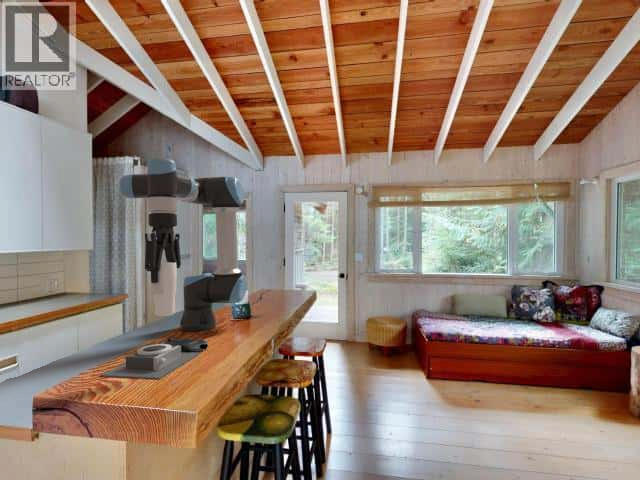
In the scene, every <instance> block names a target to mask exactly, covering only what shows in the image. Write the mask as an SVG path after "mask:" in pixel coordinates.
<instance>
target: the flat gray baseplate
mask: <svg viewBox="0 0 640 480" xmlns="http://www.w3.org/2000/svg"><path fill="white" fill-rule="evenodd" d="M199 354H200V355H201V354H202V352H181V346H171V345H169V344H161V343H157V344H156V343H155V344H149V345H144V346H143V347H142V346H141V347H139V348H138V349H137V350H136V352H133V353H131V354H129V355H126V356H125V363H122V364H120V365H118V366H115V367H114V368H112V369H109V370H107V371H105V372H103V373H101V374H100V375H99V376H100V377H108V378H124V377H132V378H131V379H144V378H148V379H147V380H161V379H162V378H164V377H165V376H167V375H169V374H170V373H172V372H174V371H175V370H177V369H179V368H180V367H182V366H183V365H185V364H187V363H188V362H190V361H192V360H193V359H195V358H196V357H198V356H199ZM194 357H195V358H194ZM191 359H192V360H191ZM189 360H190V361H189ZM186 362H187V363H186Z"/></svg>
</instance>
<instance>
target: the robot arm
mask: <svg viewBox="0 0 640 480" xmlns="http://www.w3.org/2000/svg"><path fill="white" fill-rule="evenodd" d="M176 165H177V163H176V162H175V160H173V159H170V158H164V157H163V158H162V157H157V158H156V157H155V158H151V159H148V161H147V172H146V173H140V174H139V173H138V174H137V173H136V174H135V173H132V174H125V175H123V176H122V177H121V178H120V180H119V190H120V192H121V195H123V196H124V197H125V198H127V199H148V200H147V201H148V202H147V204H148V205H147V206H148V212H150V213H149V214H148V226H149V227H151V228H152V230H151V232H150V233H149V232H148V233H145V234H144V239H145V258H144V269H145V270H146V272H149V273H150V284H151V286H150V287H151V296H152V295H153V296H154V295H162V271H159V270H160V264H161V263H162V259H163V252H164V255H165V259H166V262H176V265H177V269H180V268H181V265H182V261H181V248H180V237H181V236H180V235H181V234H180V233H175V231H174V227H177V226H178V215H177V211H178V209H177V208H178V205H177V204H178V203H177V201H181V202H184V203H188V204H196V205H204V206H211V210H212V211H213V212H214V213H215V227H216V228H215V229H216V230H215V231H216V232H215V233H216V234H215V235H216V236H215V237H216V262H217V268H216V270H215V271H214V272H213V273H211V272H207V273H205V272H204V273H199V274H192V275H187V276H185V277H184V279H183V286H182V288H183V313H182V316H181V318H180V322H179V330H180V329H181V331H182V330H188V331H187V332H200V331H201V332H202V331H208V330H211V329H214V328H216V327H217V323H218V322H217V318H216V316H215V313H214V310H213V304H238V303H241V302H242V301H243V300H244V298H245V296H246V293H247V286H248V281H247V276H245V275H243V272H242V270H241V268H239V259H238V258H239V257H238V255H239V254H238V226H237V224H238V223H237V222H238V221H237V212H238V211H239V210H240V208H241V207H240V206H241V205H242V204H243V203H244V199H245V194H244V187H243V185H242V181H240V179H239V178H237V177H235V176H217V177H215V176H212V177H198V178H193V177H192V176H189V175H188V174H186V173H182V172H180V171H177V166H176ZM177 284H178V283H176V291H177V290H178V289H177V287H178V286H177Z"/></svg>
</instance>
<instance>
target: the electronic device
mask: <svg viewBox="0 0 640 480" xmlns="http://www.w3.org/2000/svg"><path fill="white" fill-rule="evenodd" d="M160 344H169V345H171V346H181V351H182V352H198V353H200V352H204V351H205V350H206V349H207V348H208V347H209V343H208V341H206V340H203V339H196V338H195V339H193V338H178V337H173V338H171V337H169V338H167V339H166V340H164V341H163V342H161V343H160ZM202 346H205V347H206V348H205V347H204V348H201V347H202ZM199 351H200V352H199Z"/></svg>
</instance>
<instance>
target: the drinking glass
mask: <svg viewBox="0 0 640 480" xmlns="http://www.w3.org/2000/svg"><path fill="white" fill-rule="evenodd" d="M159 271H162V295H153V303H154V314H155V316H157V317H169V316H172V315H175V313H176V295H177V293H176V292H177V290H176V283H177V281H178V268H177V265H176V262H167V261H165V262H164V261H163V262H161V264H160V270H159ZM177 284H178V283H177Z"/></svg>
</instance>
